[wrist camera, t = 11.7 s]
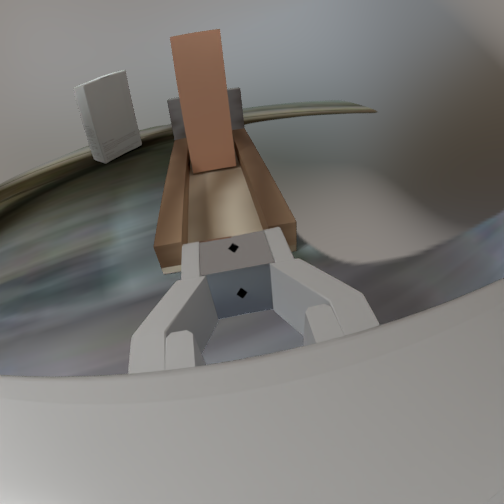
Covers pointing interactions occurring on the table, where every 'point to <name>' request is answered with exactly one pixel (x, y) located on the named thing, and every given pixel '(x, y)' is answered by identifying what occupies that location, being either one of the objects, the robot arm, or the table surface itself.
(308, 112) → the table surface
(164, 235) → the chute
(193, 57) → the post
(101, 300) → the table surface
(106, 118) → the skincare box
